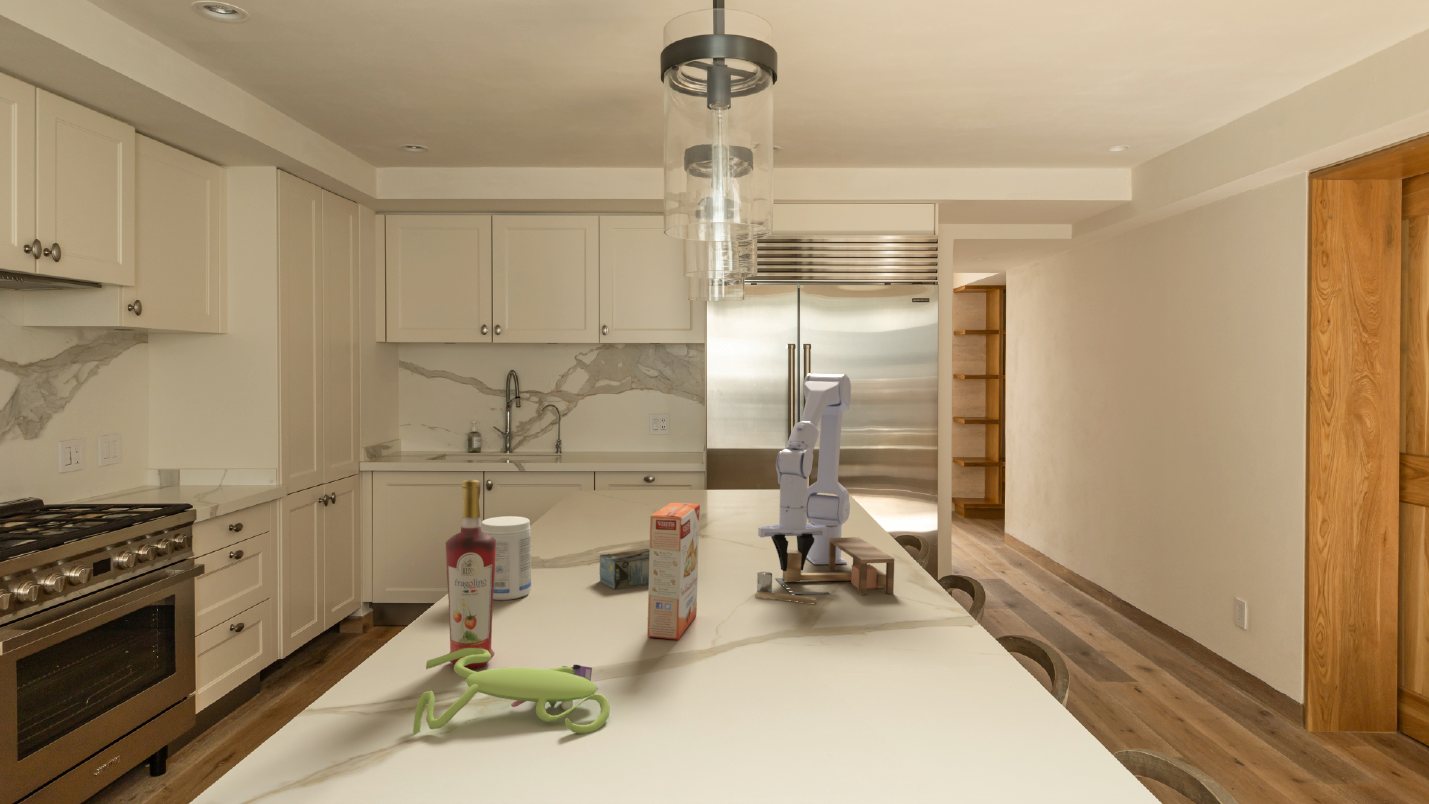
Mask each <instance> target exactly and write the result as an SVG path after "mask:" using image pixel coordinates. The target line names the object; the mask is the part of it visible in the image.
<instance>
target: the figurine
mask: <svg viewBox="0 0 1429 804" xmlns="http://www.w3.org/2000/svg"><path fill="white" fill-rule="evenodd" d="M464 656H466V657H464ZM460 657H463V658H461V659H459V660H458V661H457V662H456V664H455V665H453V671H454V673H455V674H457V675H459V676H461V677H463V678H465V683H466V685H467V686H468V688H467V689H466V691H464V693H463V694H462V695H461V696H460V697H459V698H458V699H457V700H456V701H454V703H452V704H451V705H450V706H449V707H448V708H447V709H446V710H445V712H443V713H442V714H441V715H440V716H439V717H438V718H435V717H434V707H435V694H434V693H435V692H434V691H432V690H429V691H424V692H423V693H422V694H421V696H420V698H419V699H418V702H417V706H416V707H415V713H414V720H413V729H412V731H413V732H412V734H413V735H414V736H415V735H417V734H419V733H420V732H421V725H422V719H423V714H424V711H425V707H426V705H427V703H428V706H427V711H426V717H425V718H426V723H427V726H428V727H429V729H430V730H435V729H441V728H442V727H444V726H446V724H448V723H449V722H450V721H451V719H453V717H454V716H455V715H457V714H458V713H459V712H460V711H461V710H462V709H463V708H464V707H465V706H466V705H467V704H468V703H469V702H470V701H471V700H472V698H474V697H475V695H476V694H477V693H481V694H484V695H488V696H491V697H495V698H499V699H505V700H512V701H513V702H512V703H511V705H510V706H511V708H514V707H515V708H516V707H518V706H520V705H522V704H524V703H526V702H536V705H535V713H536V715H537V718H538V719H540V720H542V722H547V723H548V722H549V723H550V722H555V721H557V720H560V719H561V718H563V717H565V716H567V715H568V714H570V713H571V712H572V711H574V710H575V709H576V708H577V707H579V706H580V705H581V704H583V703H584V702H586V701H589V700H590V701H592V700H593V701H596V702H597V703H598V704H599V706H600V712H599V715H598V717H597V718H595V720H594V721H592V722H591V723H587V724H576V723H572V721H571V720H570V719H569V718H568V717H566V718H565V719H564V724H565V726H566V728H568V730H569V731H571V732H572V733H575V734H579V735H582V734H589V733H592V732H595V731H598V730H599V729H600V728H602V726H603V725H604V724H605V723H606V722H607V720H608V719H609V717H610V711H611V710H610V704H609V700H608V698H606V697H605V695H604V694H600V693H596V692H597V690H598V686H597V684H595V683H596V682H593V681H591V680H592V674H593V673H592V672H593V667H590V666H585V665H580V664H573V666H571V667H570V666H565V665H562V666H560V667H558V666H557V667H555V668H549V669H545V668H534V667H533V668H531V667H506V668H505V667H501V668H500V667H498V668H492V669H484V670H480V671H475V670H473V669H471V670H470V669H468V668H465V667H464V666H466V665H468V664H472V663H482V662H487V661H489V660H491V659H492V658H491V654H490V653H489V652H488V650H485V649H480V648H464V649H461V650H458V651H455V652H452V653H450V652H449V653H446V654H443V655H441V656H438V657H435V658H432V659H428V660H426V663H425V664H426V665H425V668H426V670H428V669H431V668H435V667H437V666H441V665H443V664H446V663H449V662H450V661H452V660H455V659H457V658H460ZM490 658H491V659H490ZM489 662H490V661H489ZM581 699H583V700H581ZM575 700H581V701H580V702H578V703H577V704H575V705H574V701H575ZM557 702H559V703H560V707H561V708H562V709H563V710H564V711H563V712H562V713H560V714H557V715H551V714H550V713H547V710H546V704H547V703H549V705H550V707H551V708H554V707H555V706H556V705H557Z"/></svg>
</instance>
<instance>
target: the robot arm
mask: <svg viewBox="0 0 1429 804" xmlns="http://www.w3.org/2000/svg"><path fill="white" fill-rule="evenodd" d="M802 386H803V387H802V389H803V390H802V391H803V395H804V399H805V404H804V408H803V412H802V415H801V418H800V419H801V420H800V421H799V422H796V423H795V424H794V426H793V428H792V431H791V433H790V436H789V438H788V441H787V442H786V444H785V445H786V446H785V448H783V449H782V450H781V451H778V454H777V456H776V461H775V469H776V473H777V483H778V484H779V517H778V518H779V522H778V523H779V524H775V525H774V524H773V525H772V524H771V525H764V526H763V525H762V526H758V528H757V529H758V530H757V531H758V533H757V534H758V536H759V537H760V538H766V537H768V538H769V537H771V540H772V543H773V544H774V547H775V550H776V553H777V555H778V559H779V564H780V565H779V566H780V571H782V572H783V571H786V570H787V550H788V548H789V547H788V546H789V541H788V540H787V537H796V543H797V544H796V546H797V547H796V548H797V550H798V551H800V552H801V553H802V558H801V572H802V571H804V568H805V563H806V560H808V561H809V562H810V563H812V564H813V565H828V564H829V538H842V534H843V533H842V531H843V530H842V529H843V528H842V527H843V524H845V523H846V522H848V519H849V517H850V511H851V508H850V507H851V504H850V493H849V490H848V489H847V488H846V487H844V486H843V485H842V484H841V483H840V482H839V467H840V455H841V454H840V452H841V437H842V422H843V414H844V412H847V411H848V410H850V404H851V395H852V394H851V393H852V383H851V380H850V377H849V376H848V374H846V373H842V374H835V373H834V374H833V373H832V374H828V373H827V374H826V373H810V372H809V373H807V375H806V376H805V377H804V379H803V384H802ZM819 423H820V432H819V430H818V427H817V426H818V425H819ZM818 438H819V448H818V449H819V450H818V466H817V478H816V479H817V480H816V481H814V483H812V484H811V485H809V486H808V478H809V477H810V475H811V473H812V470H813V460H814V449H815V447H816V445H817V444H816V443H817V441H818ZM820 493H821V494H820ZM829 494H831V495H829ZM807 520H808V521H807ZM807 522H808V523H809V524H807ZM837 564H838V565H839V564H841V565H842V564H845V565H846V564H848V561H847V560H846V559H844V558H843V557H842V550H841V549H839V548H838V547H836V560H835V565H837Z"/></svg>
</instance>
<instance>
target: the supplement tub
mask: <svg viewBox="0 0 1429 804" xmlns="http://www.w3.org/2000/svg"><path fill="white" fill-rule="evenodd" d="M530 524H531V522H530V519H529V518H527V517H525V516H515V515H513V516H509V515H507V516H497V517H496V516H495V517H489V518H486V519H484V520H481V531H482V532H484V533H487V534H489V535H491V536H492V537H493V538H494V539H496V554H495V577H494V591H493V601H494V600H495V601H496V600H497V601H500V600H501V601H507V600H509V601H510V600H517V599H520V598H522V597H526V596H527V595H529V593H530V592H531V591H532V549H531V548H532V541H531V540H532V536H531V532H532V531H531V525H530Z"/></svg>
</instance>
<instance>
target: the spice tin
mask: <svg viewBox="0 0 1429 804" xmlns="http://www.w3.org/2000/svg"><path fill="white" fill-rule="evenodd" d="M756 574H757V575H756V577H757V578H756V592H757V591H763V592H771V593H773V573H772V572H770V571H759V572H756Z"/></svg>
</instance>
